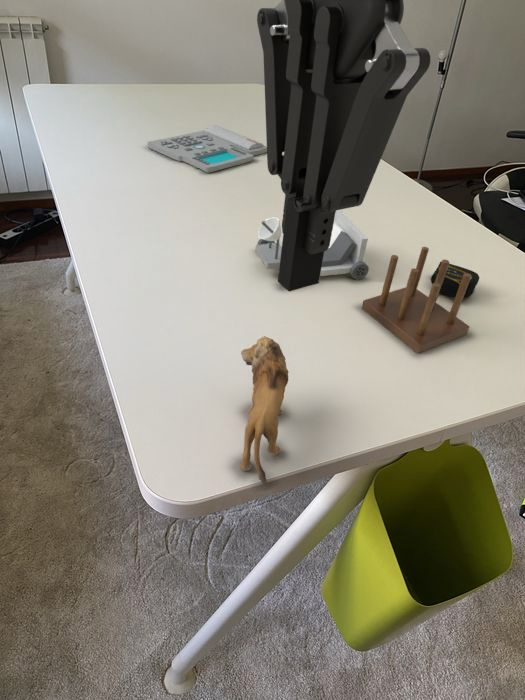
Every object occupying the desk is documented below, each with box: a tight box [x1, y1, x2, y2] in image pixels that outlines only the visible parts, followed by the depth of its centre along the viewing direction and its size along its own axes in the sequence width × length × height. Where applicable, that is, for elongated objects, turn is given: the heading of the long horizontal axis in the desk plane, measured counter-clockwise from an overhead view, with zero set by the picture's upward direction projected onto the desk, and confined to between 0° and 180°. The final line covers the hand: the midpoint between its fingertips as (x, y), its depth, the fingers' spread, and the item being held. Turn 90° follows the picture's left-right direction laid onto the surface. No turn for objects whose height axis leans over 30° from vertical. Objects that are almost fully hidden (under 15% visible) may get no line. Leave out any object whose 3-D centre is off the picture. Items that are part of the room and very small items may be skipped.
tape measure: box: [430, 260, 480, 300], centre depth 88 cm, size 7×7×4 cm
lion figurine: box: [239, 336, 289, 485], centre depth 59 cm, size 15×5×9 cm, turn 3°
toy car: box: [255, 210, 370, 281], centre depth 88 cm, size 18×10×12 cm
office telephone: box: [146, 124, 267, 173], centre depth 129 cm, size 23×3×20 cm
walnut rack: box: [361, 246, 471, 354], centre depth 79 cm, size 12×10×10 cm
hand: (298, 282), depth 41 cm, fingers closed
